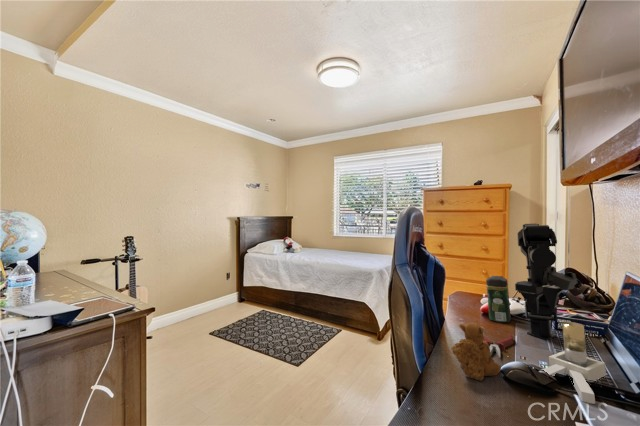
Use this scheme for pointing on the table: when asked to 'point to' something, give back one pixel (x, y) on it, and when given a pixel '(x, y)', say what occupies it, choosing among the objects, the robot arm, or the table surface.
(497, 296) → the coffee jar
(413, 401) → the table surface
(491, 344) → the pliers
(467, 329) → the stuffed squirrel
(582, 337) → the coupler
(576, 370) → the socket
